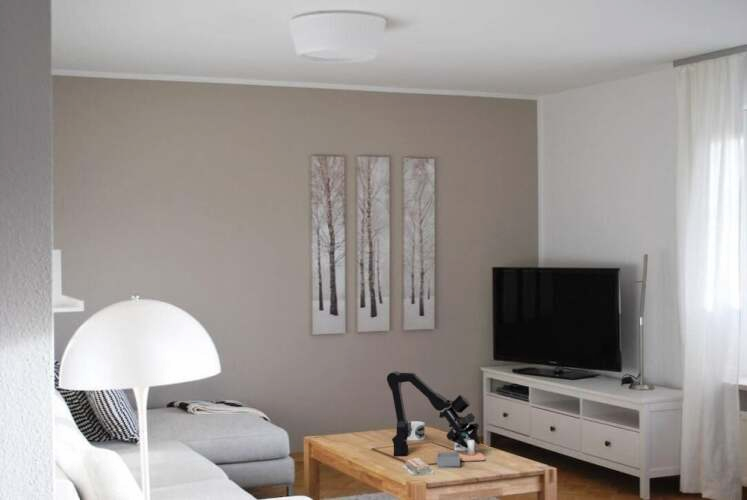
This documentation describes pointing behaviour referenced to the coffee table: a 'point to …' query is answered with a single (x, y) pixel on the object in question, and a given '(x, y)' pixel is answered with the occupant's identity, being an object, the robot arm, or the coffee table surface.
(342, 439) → the coffee table surface
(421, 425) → the mug
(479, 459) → the lid
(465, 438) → the light bulb box
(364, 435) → the coffee table surface
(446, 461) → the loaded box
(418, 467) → the packaged product
